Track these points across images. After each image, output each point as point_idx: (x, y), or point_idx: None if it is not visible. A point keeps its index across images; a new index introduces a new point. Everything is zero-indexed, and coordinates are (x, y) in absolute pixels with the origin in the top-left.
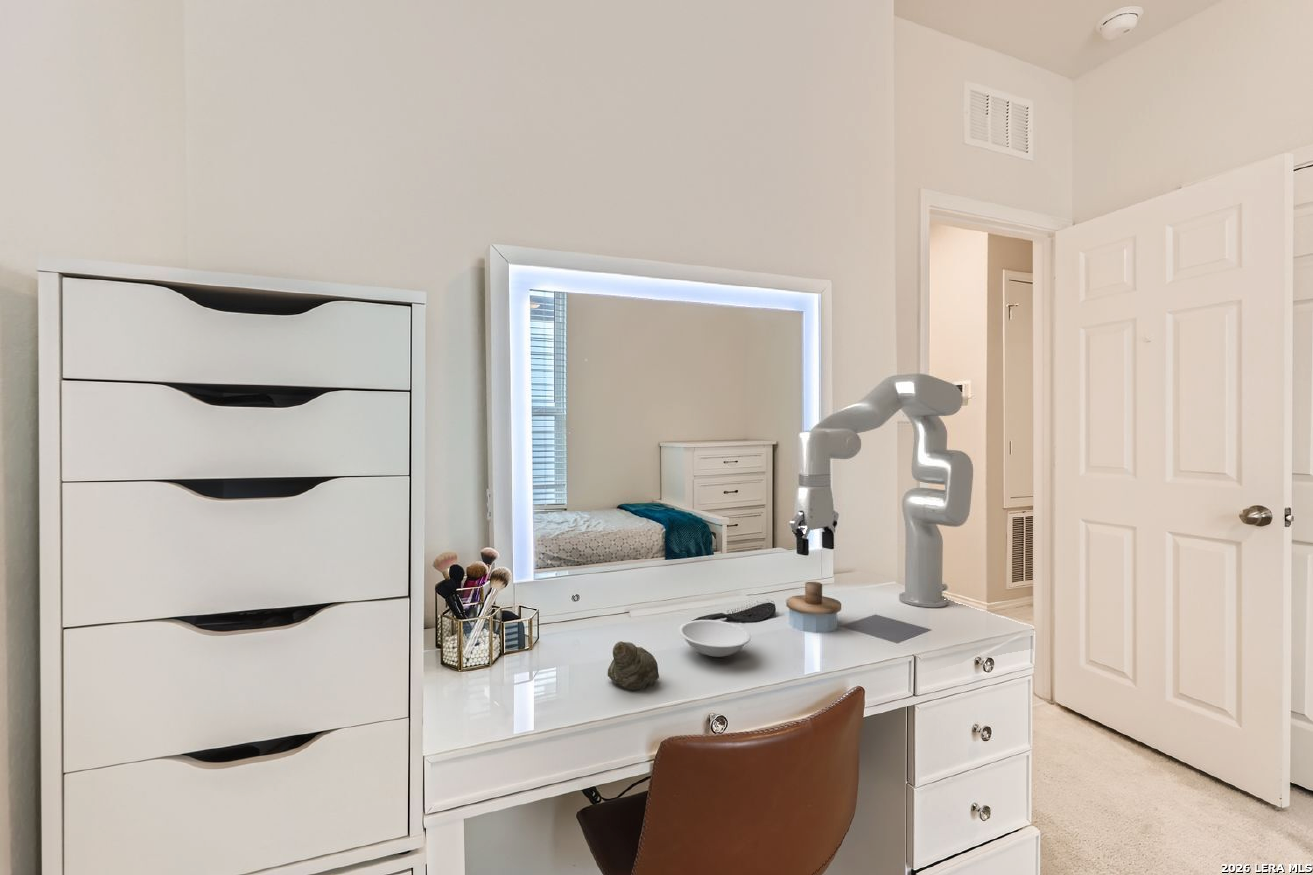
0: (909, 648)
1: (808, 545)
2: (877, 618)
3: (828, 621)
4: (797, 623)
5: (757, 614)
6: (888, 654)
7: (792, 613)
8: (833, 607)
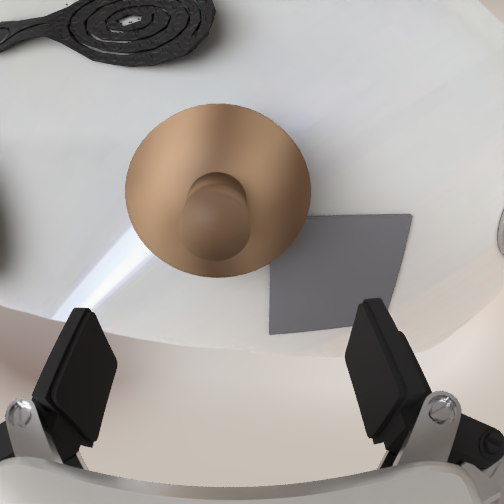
0: (272, 345)
1: (100, 411)
2: (387, 235)
3: None
4: None
5: (145, 28)
6: (216, 344)
7: None
8: (225, 267)
